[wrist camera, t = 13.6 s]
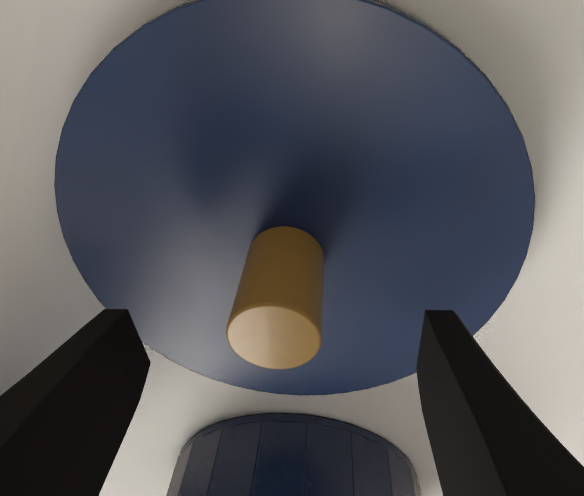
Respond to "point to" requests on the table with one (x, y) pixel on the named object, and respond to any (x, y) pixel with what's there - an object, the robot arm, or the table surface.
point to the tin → (290, 460)
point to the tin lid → (293, 190)
